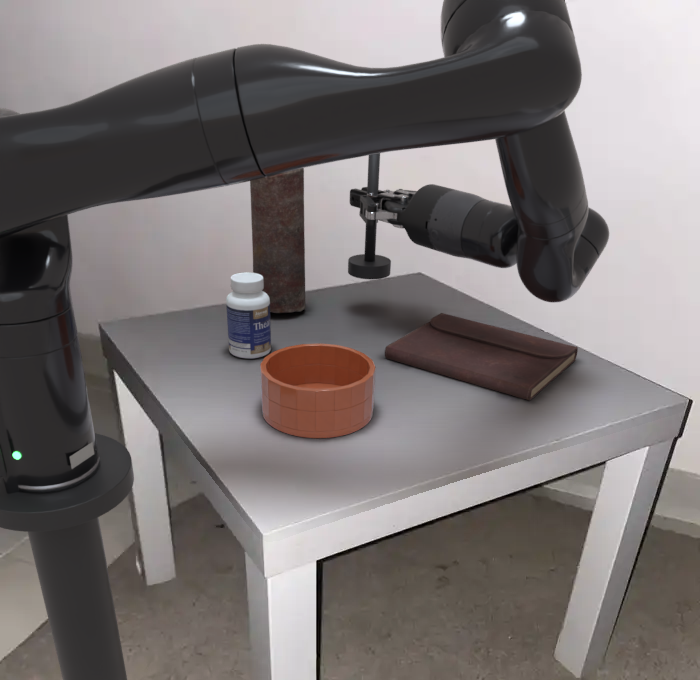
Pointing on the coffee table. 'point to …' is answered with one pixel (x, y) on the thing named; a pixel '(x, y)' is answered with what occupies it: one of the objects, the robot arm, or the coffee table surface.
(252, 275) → the pill bottle
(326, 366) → the bowl
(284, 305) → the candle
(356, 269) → the paper towel holder
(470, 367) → the notebook
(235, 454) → the coffee table surface
